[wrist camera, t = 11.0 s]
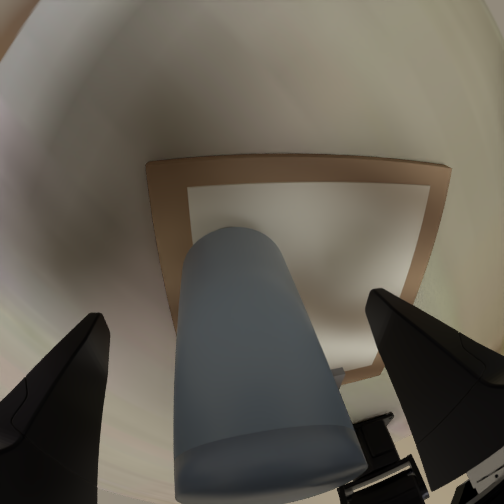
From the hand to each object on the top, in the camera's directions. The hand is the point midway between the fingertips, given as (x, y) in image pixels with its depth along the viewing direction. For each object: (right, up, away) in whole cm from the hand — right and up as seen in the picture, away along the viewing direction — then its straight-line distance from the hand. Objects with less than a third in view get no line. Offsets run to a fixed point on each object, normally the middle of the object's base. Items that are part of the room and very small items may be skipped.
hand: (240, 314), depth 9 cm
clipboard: (+3, -1, +6) cm, 7 cm away
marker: (-1, +2, +3) cm, 4 cm away
